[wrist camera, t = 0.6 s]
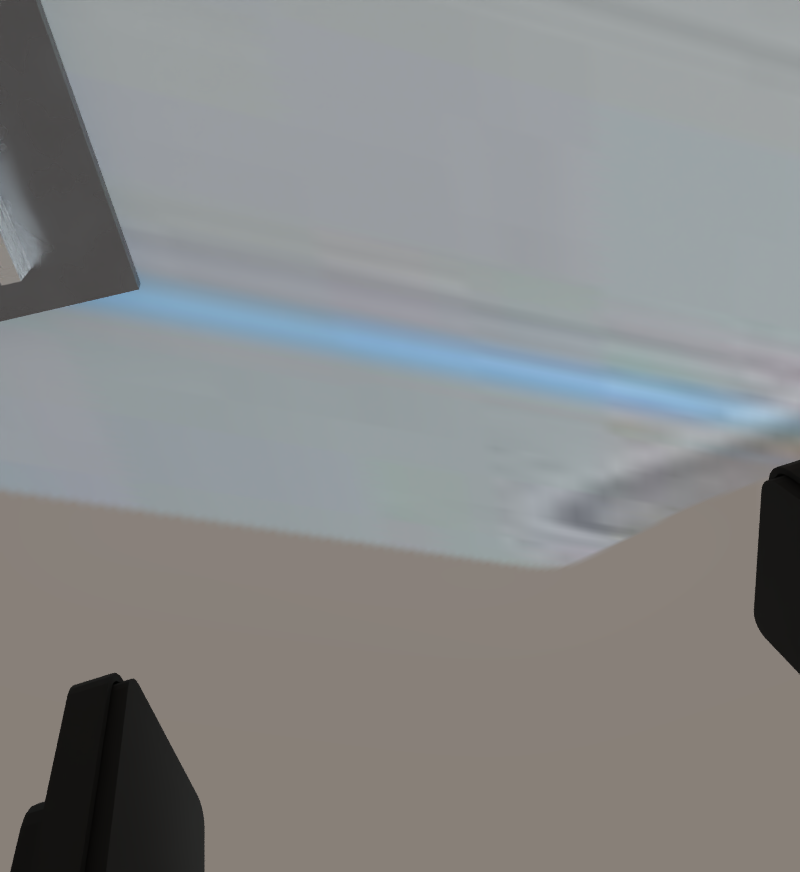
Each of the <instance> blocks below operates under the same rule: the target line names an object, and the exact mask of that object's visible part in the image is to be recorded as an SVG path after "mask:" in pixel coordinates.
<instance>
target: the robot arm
mask: <svg viewBox="0 0 800 872" xmlns="http://www.w3.org/2000/svg"><path fill="white" fill-rule="evenodd" d="M754 617H755V621H756V624H757V626H758V628H759V630H760V632H761V633H762V634H763V636H764V637H765V638H766V639H767V640H768V641H769V642H770V643H771V644H772V646H773V647H774V648H775V649H776V650H777V651H778V652H779V653H780V654H781V655H782V656H783V657H784V658H785V659H786V660H787V661H788V662H789V663H790V664H791V665H792V666H793V667H794V669H795V670H796V671H797V672H798V673H800V460H798V461H795V462H792V463H789V464H785V465H782V466H779V467H776V468H774V469H773V470H772V471H771V473H770V476H769V480H768V481H765V482H764V484H763V486H762V493H761V508H760V523H759V539H758V556H757V572H756V587H755V602H754ZM10 872H204V817H203V811H202V807H201V803H200V800H199V798H198V796H197V794H196V792H195V790H194V788H193V787H192V784H191V782H190V781H189V779H188V777H187V775H186V773H185V771H184V769H183V767H182V765H181V763H180V762H179V760H178V758H177V756H176V754H175V752H174V750H173V748H172V746H171V745H170V743H169V741H168V739H167V737H166V735H165V733H164V731H163V729H162V728H161V726H160V724H159V722H158V720H157V718H156V716H155V714H154V712H153V710H152V709H151V707H150V705H149V703H148V701H147V699H146V698H145V695H144V693H143V692H142V690H141V688H140V686H139V684H138V683H137V681H136V680H135V679H130V680H126V681H123V680H122V678H121V677H120V675H118V674H117V673H112V674H109V675H105V676H102V677H99V678H96V679H93V680H89V681H86V682H83V683H80V684H77V685H74V686H72V687H71V688H70V690H69V693H68V696H67V700H66V705H65V710H64V715H63V720H62V724H61V729H60V733H59V738H58V743H57V748H56V752H55V758H54V762H53V766H52V771H51V776H50V781H49V785H48V790H47V795H46V799H45V802H42V803H39V804H36V805H34V806H32V807H31V808H30V809H29V811H28V812H27V813H26V815H25V817H24V820H23V823H22V826H21V829H20V833H19V838H18V842H17V846H16V850H15V854H14V858H13V863H12V867H11V871H10Z"/></svg>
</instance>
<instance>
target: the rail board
mask: <svg viewBox="0 0 800 872" xmlns="http://www.w3.org/2000/svg"><path fill="white" fill-rule="evenodd" d="M139 287H140V281H139V278H138V275H137V272H136V270H135V267H134V264H133V261H132V258H131V255H130V253H129V250H128V247H127V244H126V241H125V238H124V236H123V233H122V230H121V227H120V224H119V221H118V219H117V216H116V213H115V210H114V207H113V205H112V202H111V199H110V196H109V193H108V190H107V188H106V185H105V182H104V179H103V176H102V173H101V171H100V168H99V165H98V162H97V159H96V156H95V154H94V151H93V148H92V145H91V142H90V140H89V137H88V134H87V131H86V128H85V125H84V123H83V120H82V117H81V114H80V111H79V108H78V106H77V103H76V100H75V97H74V94H73V91H72V89H71V86H70V83H69V80H68V77H67V75H66V72H65V69H64V66H63V63H62V60H61V58H60V55H59V52H58V49H57V46H56V43H55V41H54V38H53V35H52V32H51V29H50V26H49V24H48V21H47V18H46V15H45V12H44V10H43V7H42V4H41V1H40V0H0V321H4V320H9V319H13V318H17V317H22V316H26V315H30V314H34V313H39V312H43V311H47V310H52V309H56V308H60V307H65V306H69V305H73V304H78V303H82V302H86V301H91V300H95V299H99V298H103V297H108V296H112V295H116V294H121V293H125V292H129V291H134V290H138V289H139Z"/></svg>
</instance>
